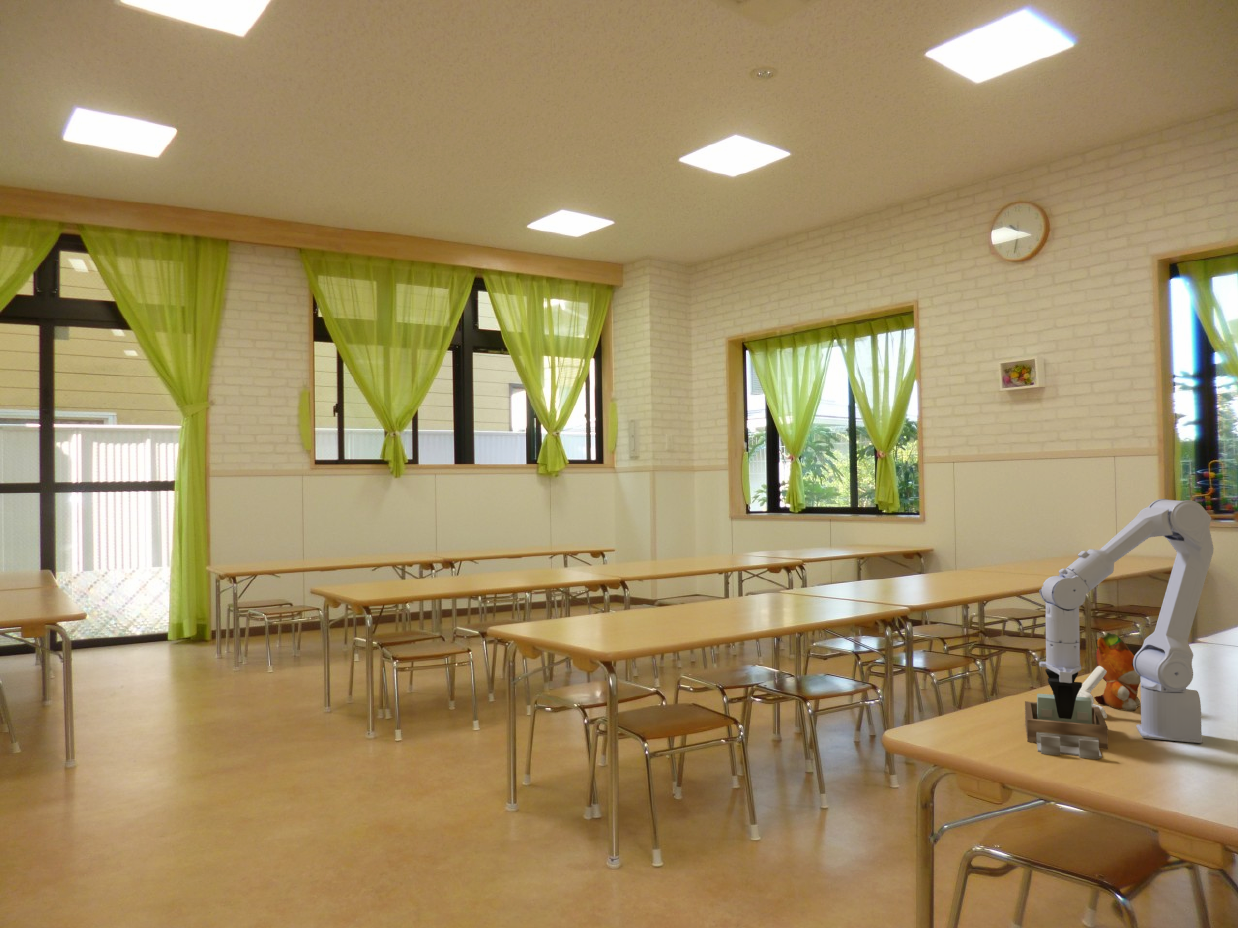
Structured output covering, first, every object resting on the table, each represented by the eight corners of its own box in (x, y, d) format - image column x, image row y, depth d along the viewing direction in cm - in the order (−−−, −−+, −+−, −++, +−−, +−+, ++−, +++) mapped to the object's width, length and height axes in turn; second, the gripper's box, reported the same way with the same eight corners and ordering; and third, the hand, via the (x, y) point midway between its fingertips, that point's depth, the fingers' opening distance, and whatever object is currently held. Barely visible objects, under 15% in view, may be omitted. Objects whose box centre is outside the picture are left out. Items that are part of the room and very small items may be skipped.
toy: (1132, 714, 180) (1130, 640, 180) (1085, 705, 186) (1084, 634, 186) (1151, 704, 187) (1150, 633, 187) (1106, 696, 194) (1105, 627, 194)
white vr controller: (1139, 693, 176) (1114, 675, 175) (1101, 739, 177) (1076, 722, 176) (1115, 676, 183) (1091, 659, 182) (1078, 721, 185) (1054, 704, 183)
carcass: (1099, 727, 170) (1099, 707, 170) (1112, 760, 151) (1111, 737, 151) (1025, 721, 175) (1024, 701, 175) (1028, 752, 156) (1028, 729, 157)
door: (1090, 729, 166) (1089, 697, 166) (1092, 734, 163) (1091, 701, 163) (1037, 724, 170) (1036, 693, 170) (1038, 729, 167) (1037, 697, 167)
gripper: (1037, 632, 175) (1038, 701, 175) (1040, 646, 162) (1041, 720, 161) (1077, 634, 172) (1078, 704, 172) (1084, 648, 159) (1085, 724, 159)
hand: (1063, 712), depth 166 cm, fingers open, 7 cm apart
